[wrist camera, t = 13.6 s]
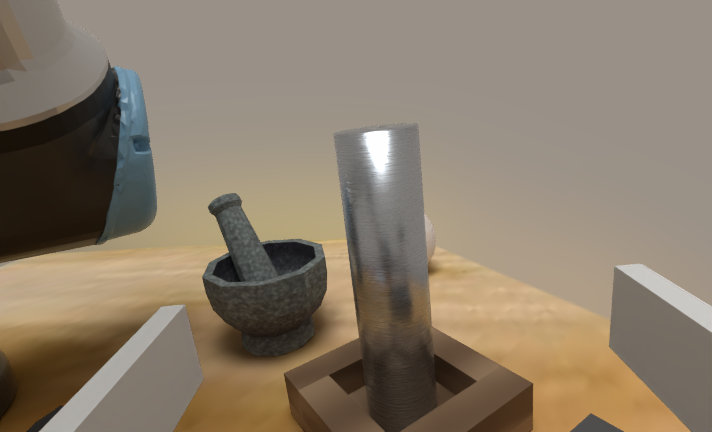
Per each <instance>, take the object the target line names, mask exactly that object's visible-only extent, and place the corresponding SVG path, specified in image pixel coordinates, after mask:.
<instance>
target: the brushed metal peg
mask: <svg viewBox="0 0 712 432" xmlns="http://www.w3.org/2000/svg"><path fill="white" fill-rule="evenodd" d="M334 141H335V149H336V157H337V165H338V173H339V181H340V189H341V197H342V205H343V212H344V221H345V229H346V237H347V245H348V253H349V261H350V269H351V277H352V285H353V293H354V301H355V309H356V317H357V325H358V333H359V341H360V349H361V357H362V365H363V373H364V380H365V388H366V396H367V404H368V412H369V416H370V417H371V418H372V419H373V420H374V421H375V422H376V423H377V424H378V425H379V426H380V427H381V428H382V429H383V430H384V431H385V432H400V431H402V430H403V429H405V428H406V427H408V426H410V425H411V424H413V423H414V422H416V421H417V420H419V419H420V418H422V417H423V416H425V415H426V414H428V413H429V412H431V411H433V410H434V409H436V408H437V392H436V377H435V363H434V348H433V334H432V319H431V305H430V290H429V275H428V261H427V246H426V232H425V217H424V203H423V189H422V173H421V159H420V144H419V131H418V124H413V123H408V124H390V125H379V126H371V127H362V128H356V129H350V130H344V131H339V132H336V133H334Z"/></svg>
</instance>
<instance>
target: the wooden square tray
mask: <svg viewBox="0 0 712 432" xmlns="http://www.w3.org/2000/svg"><path fill="white" fill-rule="evenodd" d="M432 334H433V348H434V363H435V377H436V392H437V408H436V409H434V410H433V411H431V412H429V413H428V414H426V415H425V416H423V417H422V418H420V419H419V420H417V421H416V422H414V423H413V424H411V425H410V426H408V427H406V428H405V429H403V430H402V431H400V432H530V431H531V430H532V429H533V383H531V382H530V381H528V380H526V379H524V378H522V377H521V376H519V375H517V374H515V373H514V372H512V371H510V370H508V369H506V368H505V367H503V366H501V365H499V364H498V363H496V362H494V361H492V360H490V359H489V358H487V357H485V356H483V355H482V354H480V353H478V352H476V351H474V350H473V349H471V348H469V347H467V346H466V345H464V344H462V343H460V342H458V341H457V340H455V339H453V338H451V337H450V336H448V335H446V334H444V333H442V332H441V331H439V330H437V329H435V328H434V327H432ZM284 377H285V382H286V387H287V393H288V398H289V403H290V409H291V414H292V415H293V417H294V418H295V420H296V421H297V422H298V424H299V425H300V426H301V428H302V429H303V430H304V432H385V431H384V430H383V429H382V428H381V427H380V426H379V425H378V424H377V423H376V422H375V421H374V420H373V419H372V418H371V417H370V416H369V412H368V404H367V396H366V388H365V380H364V373H363V365H362V357H361V349H360V341H359V338H358V339H356V340H354V341H352V342H349V343H347V344H345V345H343V346H341V347H339V348H337V349H335V350H332V351H330V352H328V353H326V354H324V355H322V356H320V357H318V358H316V359H313V360H311V361H309V362H307V363H305V364H303V365H301V366H299V367H296V368H294V369H292V370H290V371H288V372H286V373H284Z"/></svg>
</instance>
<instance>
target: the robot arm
mask: <svg viewBox="0 0 712 432" xmlns="http://www.w3.org/2000/svg"><path fill="white" fill-rule="evenodd" d="M149 143H150V139H149V132H148V121H147V114H146V108H145V102H144V96H143V91H142V86H141V82H140V78H139V76H138V74H137V73H136V72H135V71H133V70H130V69H123V68H120V67H119V66H116V67H113V68H111V67H110V64H109V61H108V57H107V54H106V52H105V49H104V48H103V46H102V44H101V43H100V42H99V40H98V39H97V38H96V37H95V36H93V35H92V34H91V33H90V32H88V31H86V30H85V29H83V28H81V27H79V26H78V25H76V24H74V23H72V22H70V21H68V20H66V19H64V18H63V16H62V14H61V11H60V8H59V5H58V3H57V0H0V263H3V262H8V261H13V260H18V259H24V258H29V257H34V256H39V255H44V254H49V253H54V252H59V251H65V250H70V249H75V248H80V247H85V246H90V245H101V244H103V243H105V242H106V241H107V240H111V239H115V238H118V237H122V236H126V235H130V234H133V233H137V232H140V231H142V230H144V229H146V228H147V227H148V226H150V225H151V223H152V222H153V220H154V219H155V216H156V212H157V198H156V184H155V175H154V166H153V159H152V152H151V148H150V144H149ZM613 282H614V283H613V296H612V311H611V325H610V340H609V347H610V348H611V349H612V350H613V351H614V352H615V353H616V354H617V355H618V356H619V357H620V359H621V360H622V361H623V362H624V363H625V364H626V365H627V366H628V367H629V368H630V369H631V370H632V371H633V372H634V373H635V374H636V375H637V376H638V377H639V378H640V379H641V380H642V381H643V382H644V383H645V384H646V385H647V386H648V387H649V388H650V389H651V391H652V392H653V393H654V394H655V395H656V396H657V397H658V398H659V399H660V400H661V401H662V402H663V403H664V404H665V405H666V406H667V407H668V408H669V409H670V410H671V411H672V412H673V413H674V414H675V415H676V416H677V417H678V418H679V419H680V420H681V422H682V423H683V424H684V425H685V426H686V427H687V428H688V429H689V430H690V431H691V432H712V306H710V305H708V304H707V303H705V302H703V301H702V300H700V299H698V298H697V297H695V296H694V295H692V294H690V293H688V292H687V291H685V290H684V289H682V288H680V287H679V286H677V285H675V284H674V283H672V282H670V281H669V280H667V279H666V278H664V277H662V276H661V275H659V274H657V273H656V272H654V271H652V270H651V269H649V268H647V267H646V266H644V265H642V264H632V265H620V266H615V267H614V281H613ZM203 379H204V378H203V374H202V370H201V366H200V362H199V358H198V354H197V350H196V346H195V342H194V338H193V334H192V330H191V326H190V322H189V318H188V314H187V310H186V306H185V305H174V306H162V307H161V308H160V309H159V310H158V311H157V312H156V313H155V314H154V315H153V316H152V317H151V318H150V319H149V320H148V321H147V322H146V323H145V324H144V325H143V326H142V327H141V328H140V329H139V330H138V331H137V332H136V333H135V334H134V335H133V336H132V337H131V338H130V339H129V340H128V341H127V342H126V343H125V344H124V345H123V346H122V347H121V348H120V349H119V350H118V352H117V353H116V354H115V355H114V356H113V357H112V358H111V359H110V360H109V361H108V362H107V363H106V364H105V365H104V366H103V367H102V368H101V369H100V370H99V371H98V372H97V373H96V374H95V375H94V376H93V377H92V378H91V379H90V380H89V381H88V382H87V383H86V384H85V385H84V386H83V387H82V388H81V389H80V390H79V391H78V392H77V393H76V394H75V395H74V396H73V397H72V398H71V400H70V401H69V402H68V403H67V404H66V405H65V406H59V407H58V408H56V409H55V410H53V411H52V412H50V413H49V414H48V415H46V416H45V417H43V418H42V419H40V420H39V421H37V422H36V423H35V424H34V425H33V426H32V427H31V428H30V429H29V430H28V431H27V432H173V431H174V429H175V427H176V426H177V424H178V422H179V420H180V419H181V417H182V415H183V414H184V412H185V410H186V408H187V407H188V405H189V403H190V401H191V400H192V398H193V396H194V395H195V393H196V391H197V389H198V388H199V386H200V384H201V382H202V381H203ZM17 387H18V385H17V380H16V378H15V375H14V373H13V370H12V368H11V365H10V363H9V360H8V359H7V357H6V356H5V354H4V353H3V352H2V351H1V350H0V417H1V416H2V414H3V413H4V412H5V411H6V410H7V408H8V407H9V405H10V404H11V402H12V401H13V399H14V397H15V395H16V392H17Z"/></svg>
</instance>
